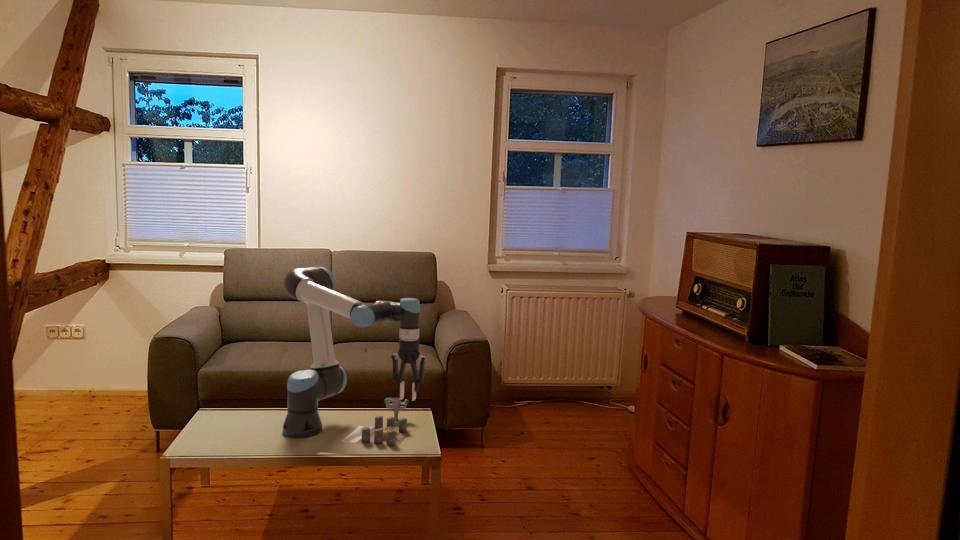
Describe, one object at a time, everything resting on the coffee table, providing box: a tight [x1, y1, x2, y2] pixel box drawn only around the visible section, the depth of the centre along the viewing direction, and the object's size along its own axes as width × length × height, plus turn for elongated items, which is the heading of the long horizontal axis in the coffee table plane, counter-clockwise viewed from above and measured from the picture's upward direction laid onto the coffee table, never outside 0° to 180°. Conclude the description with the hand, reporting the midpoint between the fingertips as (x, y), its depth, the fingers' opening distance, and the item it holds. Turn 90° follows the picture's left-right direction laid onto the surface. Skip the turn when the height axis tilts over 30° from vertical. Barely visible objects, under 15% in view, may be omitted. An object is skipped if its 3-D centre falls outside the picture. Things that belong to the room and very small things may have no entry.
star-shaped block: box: [379, 426, 396, 440], centre depth 235 cm, size 7×7×3 cm
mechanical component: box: [383, 397, 410, 422], centre depth 255 cm, size 3×10×10 cm, turn 89°
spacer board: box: [341, 415, 412, 448], centre depth 236 cm, size 22×18×6 cm
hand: (407, 399), depth 233 cm, fingers open, 4 cm apart
